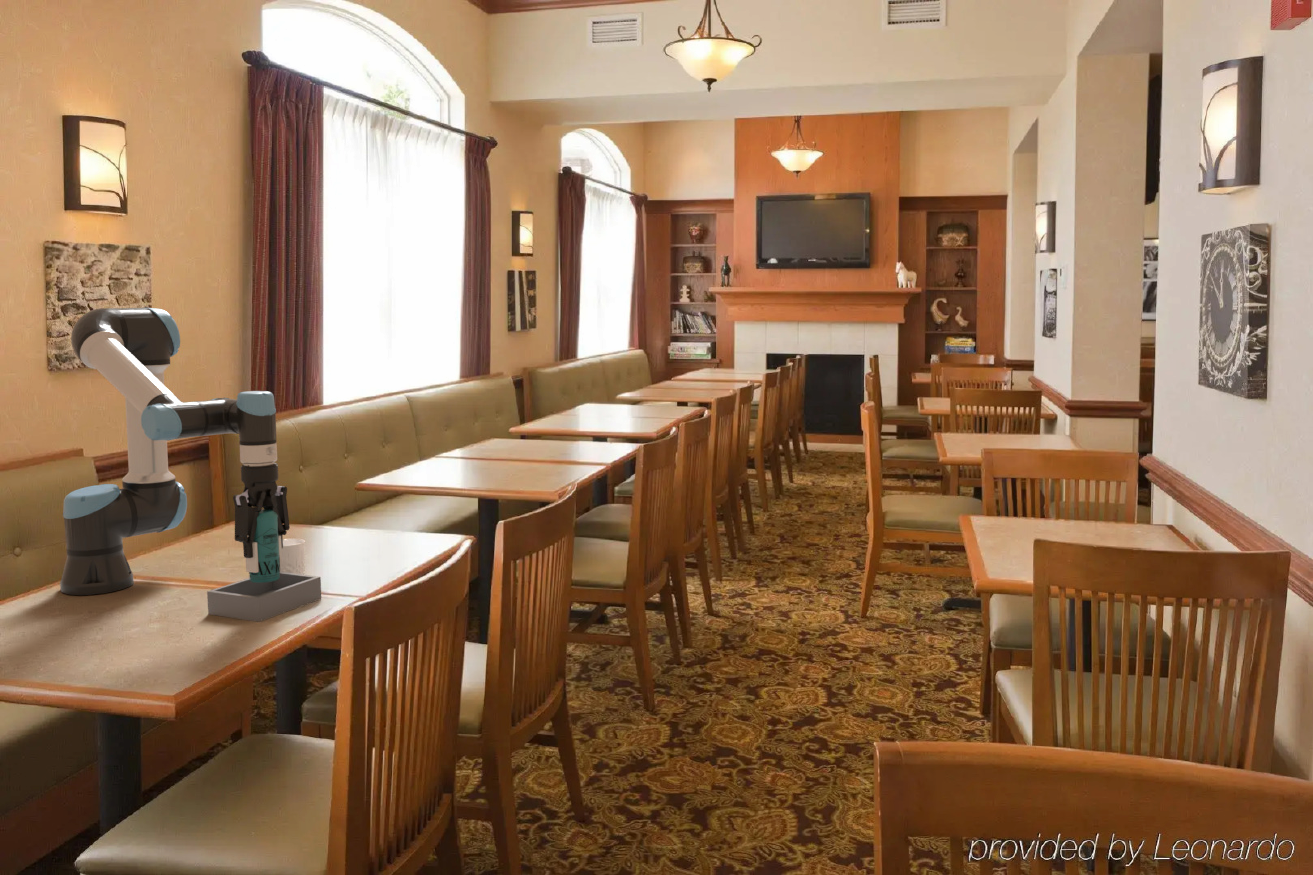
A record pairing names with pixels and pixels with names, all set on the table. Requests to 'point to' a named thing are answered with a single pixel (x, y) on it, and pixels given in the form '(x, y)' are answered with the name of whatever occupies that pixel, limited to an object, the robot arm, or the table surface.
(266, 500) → the beverage bottle
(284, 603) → the trough tray
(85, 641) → the table surface
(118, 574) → the robot arm
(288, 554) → the white cup
